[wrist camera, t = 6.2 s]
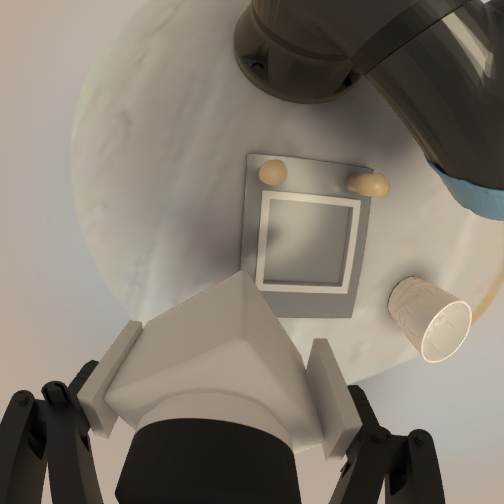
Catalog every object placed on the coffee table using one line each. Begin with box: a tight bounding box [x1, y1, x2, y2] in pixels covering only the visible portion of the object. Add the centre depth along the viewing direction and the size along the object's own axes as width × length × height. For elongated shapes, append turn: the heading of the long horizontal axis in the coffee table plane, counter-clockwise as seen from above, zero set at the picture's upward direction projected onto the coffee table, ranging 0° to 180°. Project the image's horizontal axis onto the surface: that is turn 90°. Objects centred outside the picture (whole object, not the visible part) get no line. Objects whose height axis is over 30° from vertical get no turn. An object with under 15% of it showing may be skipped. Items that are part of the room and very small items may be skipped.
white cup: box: [388, 277, 472, 363], centre depth 29 cm, size 8×8×10 cm
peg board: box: [240, 154, 390, 318], centre depth 28 cm, size 18×14×7 cm
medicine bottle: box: [104, 270, 324, 504], centre depth 10 cm, size 7×7×12 cm
